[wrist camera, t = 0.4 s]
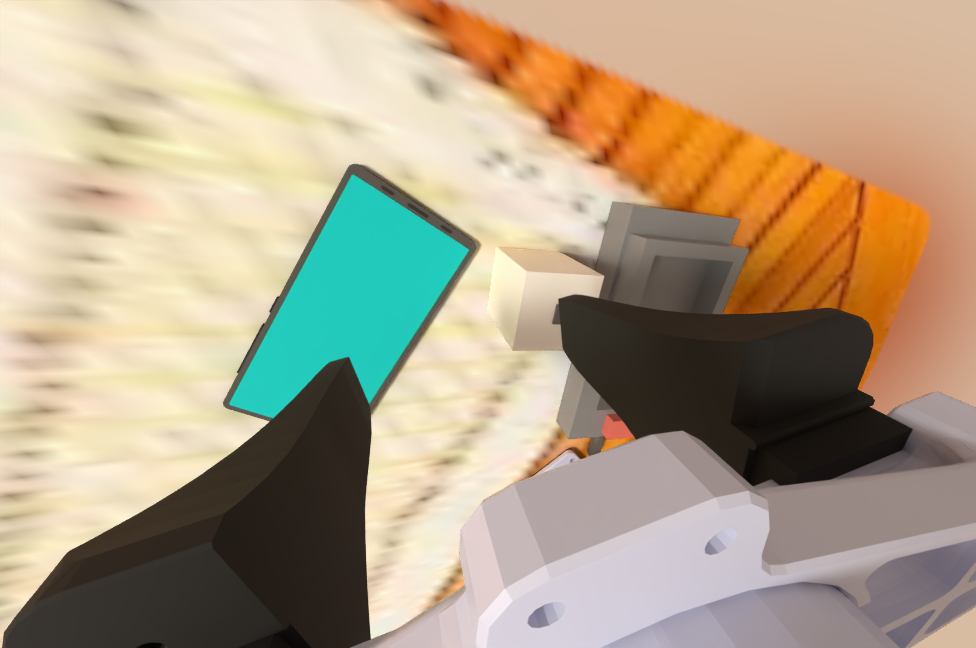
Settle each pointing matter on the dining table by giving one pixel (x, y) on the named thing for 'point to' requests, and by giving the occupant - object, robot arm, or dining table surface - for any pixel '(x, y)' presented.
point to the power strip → (653, 290)
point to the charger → (535, 295)
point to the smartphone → (352, 295)
